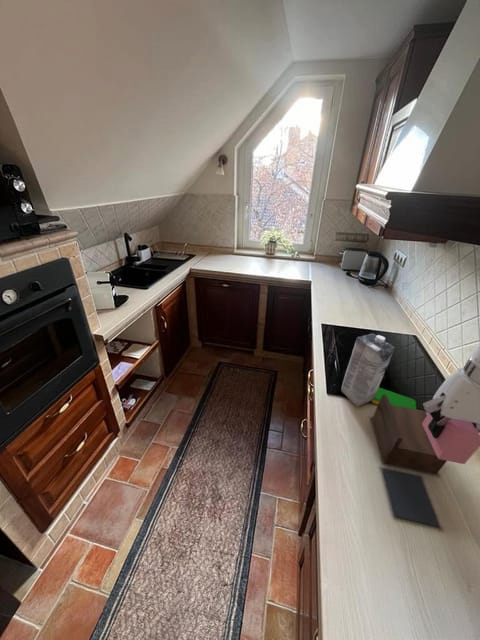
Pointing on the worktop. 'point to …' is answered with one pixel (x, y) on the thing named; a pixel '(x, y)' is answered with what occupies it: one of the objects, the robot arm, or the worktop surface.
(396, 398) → the dish sponge
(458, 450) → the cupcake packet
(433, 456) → the walnut shelf
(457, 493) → the worktop surface
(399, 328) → the worktop surface
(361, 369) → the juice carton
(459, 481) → the worktop surface
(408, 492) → the slate mat
